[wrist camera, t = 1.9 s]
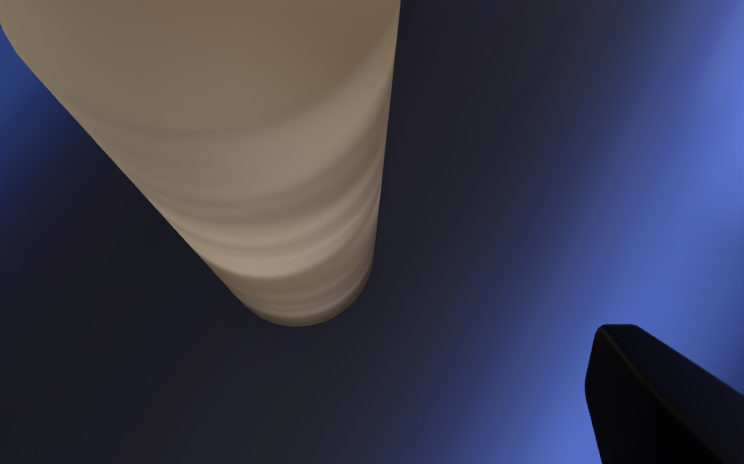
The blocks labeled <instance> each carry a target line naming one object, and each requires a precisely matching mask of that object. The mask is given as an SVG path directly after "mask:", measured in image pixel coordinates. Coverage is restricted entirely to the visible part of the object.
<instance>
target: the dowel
mask: <svg viewBox="0 0 744 464" xmlns="http://www.w3.org/2000/svg"><path fill="white" fill-rule="evenodd" d="M400 1H401V0H0V23H1V26H2V28H3V31H4V33H5V35H6V36H7V38H8V40H9V41H10V43H11V45H12V46H13V48H14V49H15V51H16V53H17V54H18V55H19V56H20V58H21V59H22V60H23V61H24V62H25V64H26V65H27V66H28V67H29V68H30V69H31V71H32V72H33V73H34V74H35V75H36V76H37V77H38V78H39V80H40V81H41V82H42V83H43V84H44V85H45V86H46V87H47V88H48V89H49V91H50V92H51V93H52V94H53V95H54V96H55V97H56V98H57V99H58V100H59V102H60V103H61V104H62V105H63V106H64V107H65V108H66V109H67V110H68V112H69V113H70V114H71V115H72V116H73V117H74V118H75V119H76V120H77V121H78V123H79V124H80V125H81V126H82V127H83V128H84V129H85V130H86V131H87V132H88V134H89V135H90V136H91V137H92V138H93V139H94V140H95V141H96V142H97V143H98V145H99V146H100V147H101V148H102V149H103V150H104V151H105V152H106V153H107V155H108V156H109V157H110V158H111V159H112V160H113V161H114V162H115V163H116V164H117V166H118V167H119V168H120V169H121V170H122V171H123V172H124V173H125V174H126V175H127V177H128V178H129V179H130V180H131V181H132V182H133V183H134V184H135V185H136V187H137V188H138V189H139V190H140V191H141V192H142V193H143V194H144V195H145V196H146V198H147V199H148V200H149V201H150V202H151V203H152V204H153V205H154V206H155V207H156V209H157V210H158V211H159V212H160V213H161V214H162V215H163V216H164V217H165V218H166V220H167V221H168V222H169V223H170V224H171V225H172V226H173V227H174V228H175V230H176V231H177V232H178V233H179V234H180V235H181V236H182V237H183V238H184V239H185V241H186V242H187V243H188V244H189V245H190V246H191V247H192V248H193V249H194V250H195V252H196V253H197V254H198V255H199V256H200V257H201V258H202V259H203V260H204V262H205V263H206V264H207V265H208V266H209V267H210V268H211V269H212V270H213V271H214V273H215V274H216V275H217V276H218V277H219V278H220V279H221V280H222V281H223V282H224V284H225V285H226V286H227V287H228V288H229V289H230V290H231V291H232V292H233V294H234V295H235V296H236V297H237V298H238V299H239V300H240V301H241V302H242V303H243V305H245V306H246V307H247V308H248V309H249V310H250V311H251V312H253V313H254V314H256V315H257V316H259V317H261V318H263V319H265V320H267V321H269V322H272V323H275V324H279V325H284V326H295V327H300V326H310V325H314V324H319V323H321V322H324V321H327V320H329V319H331V318H333V317H335V316H337V315H338V314H340V313H341V312H343V311H344V310H346V309H347V308H348V307H349V306H350V305H351V304H352V303H353V302H354V301H355V300H356V299H357V298H358V296H359V295H360V294H361V292H362V291H363V289H364V287H365V285H366V283H367V281H368V279H369V276H370V273H371V270H372V265H373V258H374V248H375V239H376V229H377V220H378V210H379V201H380V191H381V182H382V172H383V163H384V153H385V144H386V134H387V125H388V115H389V106H390V96H391V87H392V77H393V68H394V58H395V49H396V39H397V30H398V20H399V11H400Z"/></svg>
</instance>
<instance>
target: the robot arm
mask: <svg viewBox="0 0 744 464" xmlns="http://www.w3.org/2000/svg"><path fill="white" fill-rule="evenodd" d="M585 395H586V401H587V405H588V409H589V413H590V417H591V421H592V425H593V429H594V433H595V437H596V441H597V445H598V449H599V453H600V457H601V461H602V464H744V395H743V394H742V393H740V392H739V391H737V390H736V389H734V388H732V387H731V386H729V385H728V384H726V383H725V382H723V381H722V380H720V379H719V378H717V377H716V376H714V375H712V374H711V373H709V372H708V371H706V370H705V369H703V368H702V367H700V366H699V365H697V364H696V363H694V362H693V361H691V360H689V359H688V358H686V357H685V356H683V355H682V354H680V353H679V352H677V351H676V350H674V349H673V348H671V347H669V346H668V345H666V344H665V343H663V342H662V341H660V340H659V339H657V338H656V337H654V336H653V335H651V334H649V333H648V332H646V331H645V330H643V329H642V328H640V327H638V326H637V325H633V324H605V325H602V326H601V327H599V328H598V330H597V331H596V333H595V337H594V341H593V346H592V350H591V355H590V359H589V364H588V369H587V373H586V378H585Z"/></svg>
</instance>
